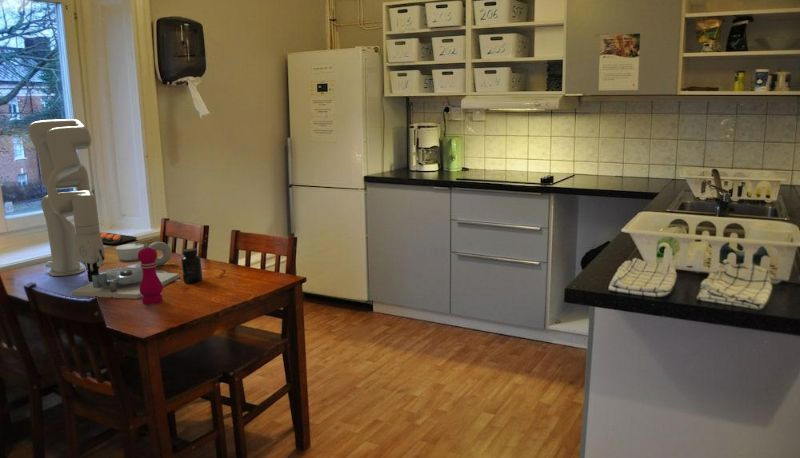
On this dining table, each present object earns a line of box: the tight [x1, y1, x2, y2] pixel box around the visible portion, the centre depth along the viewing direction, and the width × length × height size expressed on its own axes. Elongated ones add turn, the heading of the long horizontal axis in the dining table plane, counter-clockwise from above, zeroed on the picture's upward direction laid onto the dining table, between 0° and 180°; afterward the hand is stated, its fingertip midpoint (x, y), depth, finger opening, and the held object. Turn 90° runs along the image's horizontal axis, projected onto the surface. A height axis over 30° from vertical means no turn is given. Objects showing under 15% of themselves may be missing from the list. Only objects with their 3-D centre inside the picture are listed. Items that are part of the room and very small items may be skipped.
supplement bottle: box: [180, 248, 203, 285], centre depth 242 cm, size 7×7×12 cm
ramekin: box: [115, 243, 144, 262], centre depth 280 cm, size 11×11×5 cm
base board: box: [71, 272, 180, 300], centre depth 239 cm, size 26×26×3 cm
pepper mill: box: [137, 243, 164, 305], centre depth 218 cm, size 7×7×20 cm
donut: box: [149, 241, 172, 267], centre depth 266 cm, size 10×4×10 cm, turn 126°
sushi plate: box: [100, 231, 137, 245], centre depth 311 cm, size 29×30×4 cm
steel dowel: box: [109, 281, 117, 292], centre depth 228 cm, size 2×2×4 cm
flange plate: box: [92, 267, 143, 288], centre depth 236 cm, size 22×18×4 cm
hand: (94, 280), depth 230 cm, fingers closed
